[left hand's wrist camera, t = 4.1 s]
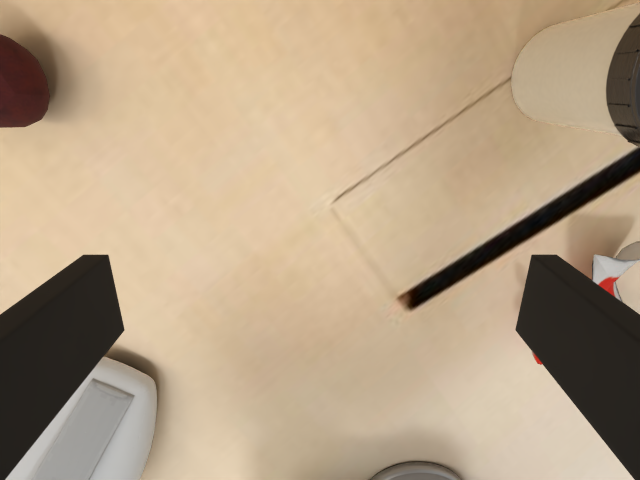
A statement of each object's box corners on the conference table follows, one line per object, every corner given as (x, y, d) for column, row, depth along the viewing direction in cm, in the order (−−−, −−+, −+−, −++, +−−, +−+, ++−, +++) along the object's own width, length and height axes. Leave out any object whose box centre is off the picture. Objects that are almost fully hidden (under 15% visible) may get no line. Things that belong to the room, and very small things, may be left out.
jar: (620, 84, 36) (823, 84, 22) (535, 141, 38) (670, 176, 24) (583, -1, 34) (784, -66, 19) (494, 64, 36) (615, 50, 21)
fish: (488, 291, 39) (595, 352, 31) (586, 198, 42) (704, 233, 35) (499, 348, 45) (589, 410, 38) (582, 264, 49) (681, 305, 41)
